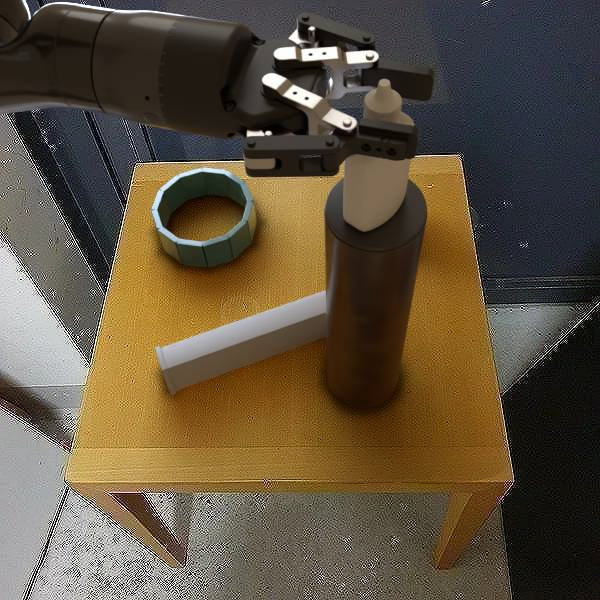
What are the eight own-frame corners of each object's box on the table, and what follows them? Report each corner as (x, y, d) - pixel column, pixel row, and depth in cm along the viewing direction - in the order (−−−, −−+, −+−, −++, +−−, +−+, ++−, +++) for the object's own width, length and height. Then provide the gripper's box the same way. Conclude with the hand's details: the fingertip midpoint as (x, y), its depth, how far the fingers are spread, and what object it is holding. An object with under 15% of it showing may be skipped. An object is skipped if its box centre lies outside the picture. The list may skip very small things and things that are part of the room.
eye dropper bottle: (330, 196, 54) (329, 72, 44) (396, 176, 55) (410, 49, 44) (351, 238, 52) (356, 118, 41) (420, 216, 52) (441, 92, 42)
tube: (356, 268, 82) (152, 339, 77) (375, 294, 78) (160, 370, 73) (360, 302, 85) (165, 372, 81) (378, 328, 81) (174, 403, 77)
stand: (321, 402, 77) (315, 241, 52) (333, 340, 81) (332, 162, 56) (393, 413, 76) (423, 255, 50) (401, 350, 80) (432, 173, 55)
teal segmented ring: (148, 259, 88) (139, 238, 85) (175, 185, 95) (168, 163, 91) (243, 272, 87) (239, 251, 83) (264, 196, 93) (261, 173, 89)
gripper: (121, 103, 40) (410, 152, 37) (204, -39, 47) (452, -7, 44) (150, 188, 47) (399, 236, 44) (220, 52, 54) (437, 85, 51)
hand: (424, 113), depth 44 cm, fingers open, 4 cm apart
